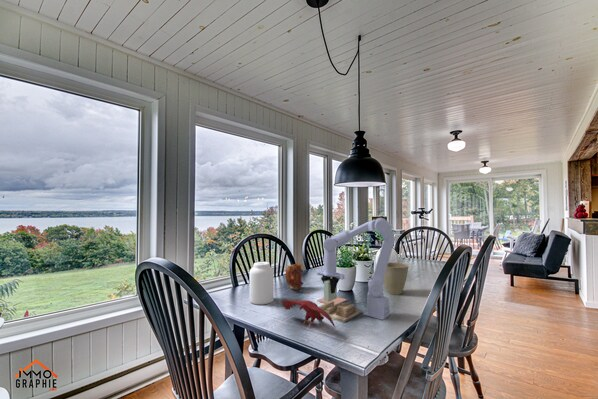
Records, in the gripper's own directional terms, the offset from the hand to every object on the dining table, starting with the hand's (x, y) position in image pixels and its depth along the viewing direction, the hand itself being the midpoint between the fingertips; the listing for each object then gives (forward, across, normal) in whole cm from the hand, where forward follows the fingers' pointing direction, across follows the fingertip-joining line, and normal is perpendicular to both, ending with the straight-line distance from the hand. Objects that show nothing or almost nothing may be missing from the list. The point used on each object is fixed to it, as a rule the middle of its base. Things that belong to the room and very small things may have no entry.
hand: (330, 292), depth 139 cm
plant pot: (+9, +11, +48) cm, 50 cm away
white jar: (+9, -36, -11) cm, 39 cm away
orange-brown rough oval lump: (+9, -37, +15) cm, 41 cm away
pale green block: (+3, 0, 0) cm, 3 cm away
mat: (+9, -8, +13) cm, 18 cm away
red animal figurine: (+9, +3, -18) cm, 21 cm away
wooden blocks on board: (+9, +4, 0) cm, 10 cm away
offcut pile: (+8, +8, 0) cm, 12 cm away
